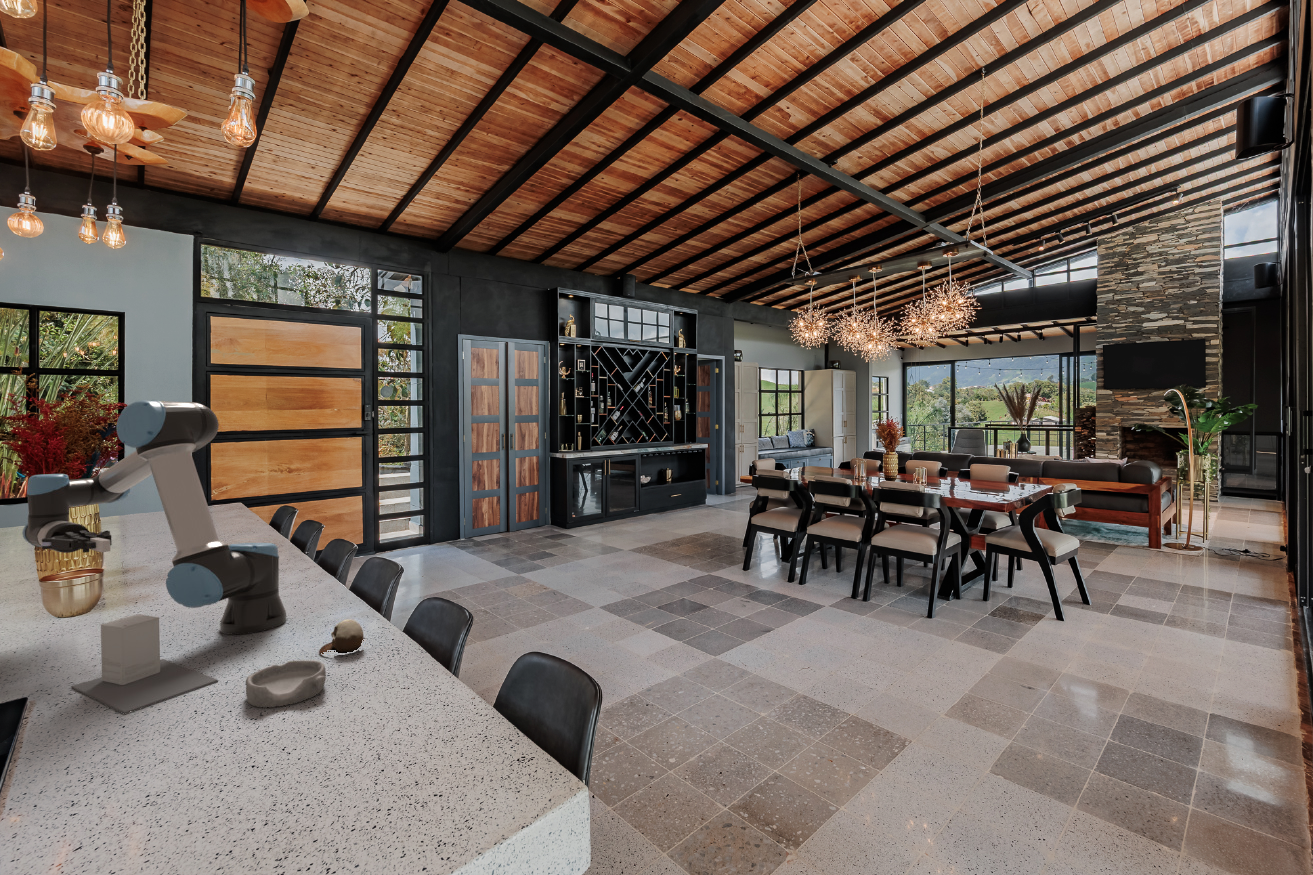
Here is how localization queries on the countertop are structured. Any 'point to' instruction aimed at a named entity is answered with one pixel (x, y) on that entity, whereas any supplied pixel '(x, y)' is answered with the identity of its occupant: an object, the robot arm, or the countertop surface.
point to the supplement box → (130, 649)
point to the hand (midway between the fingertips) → (106, 546)
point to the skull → (345, 637)
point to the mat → (145, 687)
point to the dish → (285, 683)
